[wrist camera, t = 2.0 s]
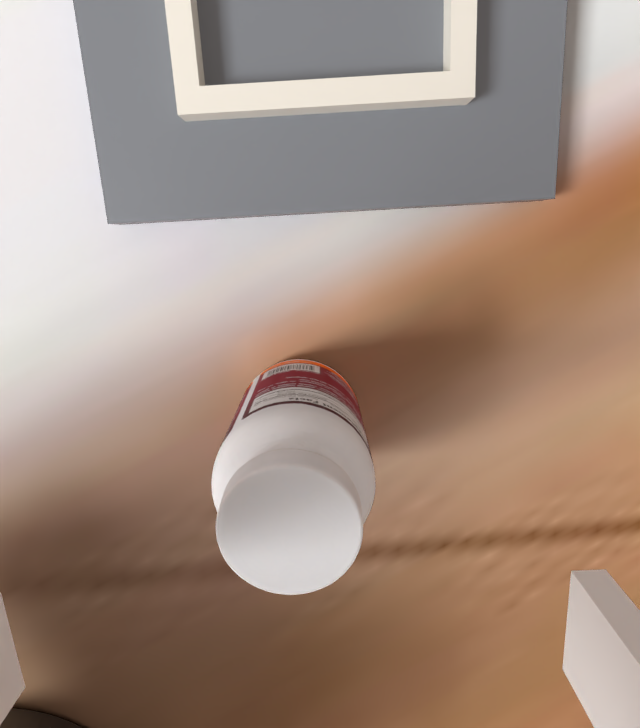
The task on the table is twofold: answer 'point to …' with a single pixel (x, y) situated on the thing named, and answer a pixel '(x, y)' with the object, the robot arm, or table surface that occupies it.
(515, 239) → the table surface
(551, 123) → the locating plate
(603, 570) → the robot arm
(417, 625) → the table surface
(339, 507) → the pill bottle
